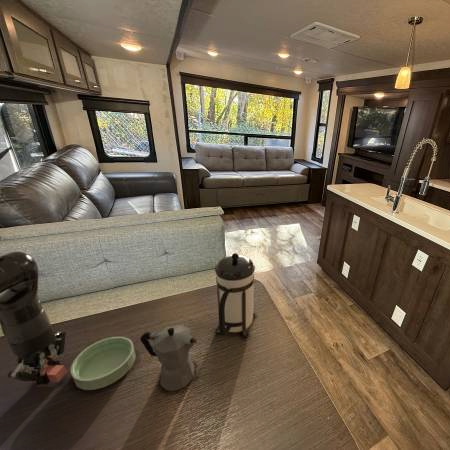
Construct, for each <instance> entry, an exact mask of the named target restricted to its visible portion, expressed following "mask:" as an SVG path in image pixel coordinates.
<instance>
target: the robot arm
mask: <svg viewBox="0 0 450 450" xmlns="http://www.w3.org/2000/svg"><path fill="white" fill-rule="evenodd" d="M1 242H2V236H1V235H0V243H1ZM39 276H40V274H39V266H38V263H37V261H36V260H35V258H33V257H32V256H31V255H30V254H28V253H26V252H24V251H12V252H7V253H5V254H3V255H0V294H1V295H0V328H1V332H2V334H3V336H4V338H5V339H6V342H7V344H8V347H9V348H10V350H11V352H12V354H14V355H15V356H16V357H17V364H18V365H17V366H16V367H15V369H14V370H11V371H10V372H8V374H7V377H8V378H11V379H14V380H16V381H22V382H34V381H36V382H35V383H36V384H37V385H39V386H40V385H49V383H51V382H50V380H49V378H48V376H47V373H46V372H45V369H44V366H45V365H61V363H60V362H61V361H60V355H62V354H64V352H65V344H66V331H55V330H54V328H53V326H52V323H51V320H50V317H49V315H48V313H47V311H46V310H45V309H44V307H43V304H42V302H41V300H40V298H39ZM37 370H38V371H37Z"/></svg>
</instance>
